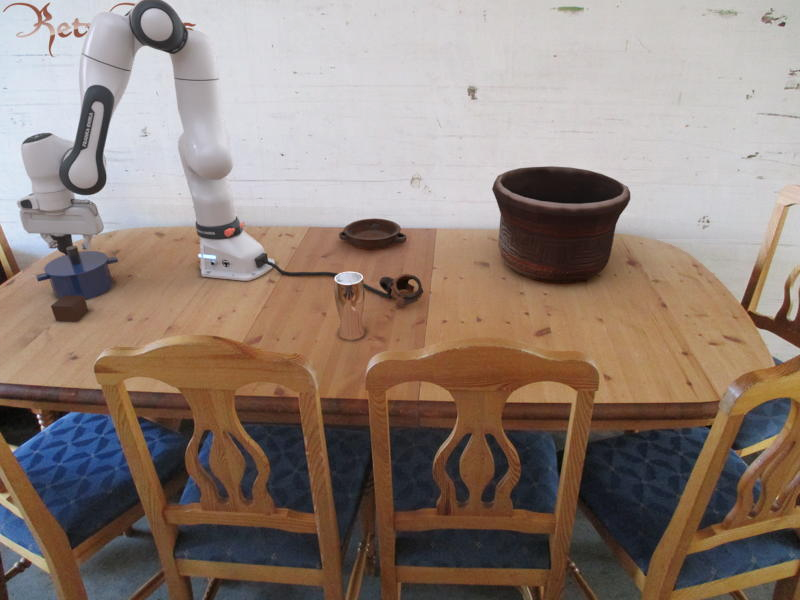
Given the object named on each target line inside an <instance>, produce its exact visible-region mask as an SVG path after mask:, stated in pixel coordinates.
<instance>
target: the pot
mask: <svg viewBox="0 0 800 600" xmlns="http://www.w3.org/2000/svg"><path fill="white" fill-rule="evenodd" d="M118 262H119V259H118V257H117V256H116V255H114V256H110V257H109V256H108V261H107V263H106V264H105V265H104V266H102V267H101V268H99V269H97V270H95V271H92V272H89V273H86V274H83V275H78V276H72V277H53V276H49V275H47V274H46V273H45V272H43V273H39V274H35V277H36V280H37V282H38V283H39V282H42V281H46V280H49V283H50V285H51V288H52V291H53V294H54V295H55V297H56V299H57V300H59V299H60V298H61V297H62V296H63V295H69V296H84V298H85V301H86V300H90V299H94V298H97V297H99V296H102V295H103V294H106V293H107V292H108V291H109V290H111V288H112V287H113V285H114V281H113V277H112V273H111V269H110V266H109V265H111V264H112V265H113V264H117V263H118Z"/></svg>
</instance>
